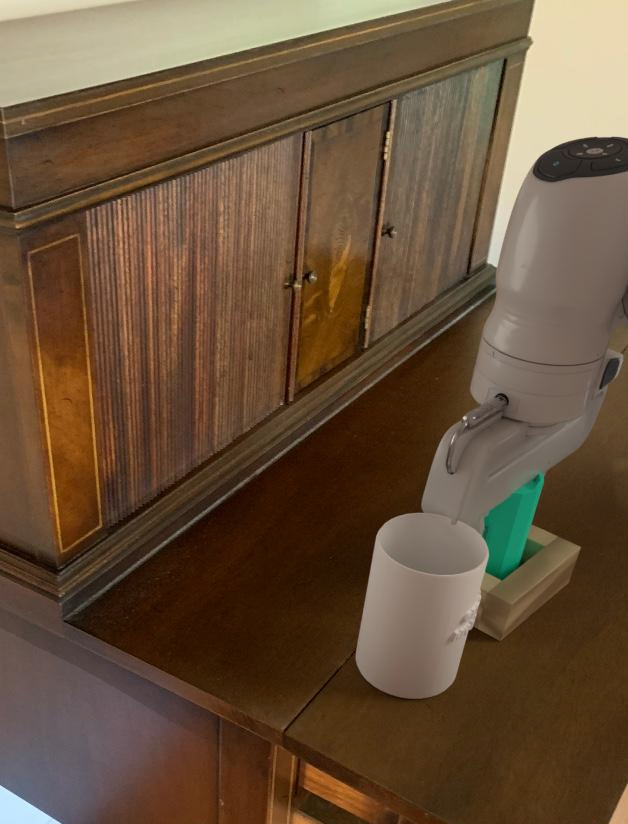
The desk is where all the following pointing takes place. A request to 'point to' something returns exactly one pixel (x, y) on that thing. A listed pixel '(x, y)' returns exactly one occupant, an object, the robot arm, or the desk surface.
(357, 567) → the desk surface
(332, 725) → the desk surface
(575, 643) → the desk surface
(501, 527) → the candle
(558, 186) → the robot arm
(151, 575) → the desk surface
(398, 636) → the mug
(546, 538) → the frame
